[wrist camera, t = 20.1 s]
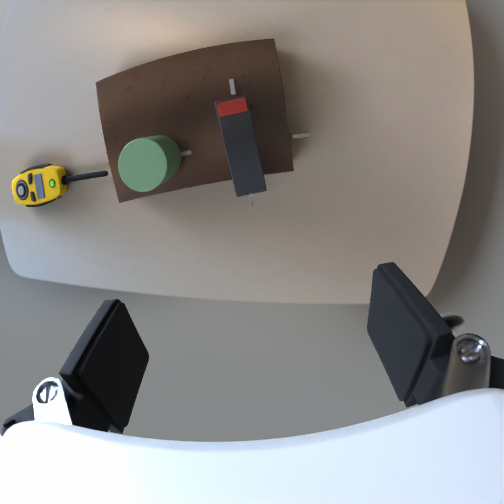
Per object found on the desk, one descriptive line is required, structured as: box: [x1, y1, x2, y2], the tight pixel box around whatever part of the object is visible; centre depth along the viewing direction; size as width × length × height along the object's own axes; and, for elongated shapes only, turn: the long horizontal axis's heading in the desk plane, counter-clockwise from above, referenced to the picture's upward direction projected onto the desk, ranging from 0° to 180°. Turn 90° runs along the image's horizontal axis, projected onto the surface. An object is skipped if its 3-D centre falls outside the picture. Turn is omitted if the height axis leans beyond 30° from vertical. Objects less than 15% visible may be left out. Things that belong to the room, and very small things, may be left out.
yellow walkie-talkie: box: [12, 164, 108, 207], centre depth 23 cm, size 5×2×15 cm
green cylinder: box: [118, 135, 182, 192], centre depth 19 cm, size 4×4×4 cm
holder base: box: [96, 39, 309, 207], centre depth 22 cm, size 15×18×3 cm
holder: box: [215, 95, 267, 197], centre depth 19 cm, size 7×2×4 cm, turn 12°
